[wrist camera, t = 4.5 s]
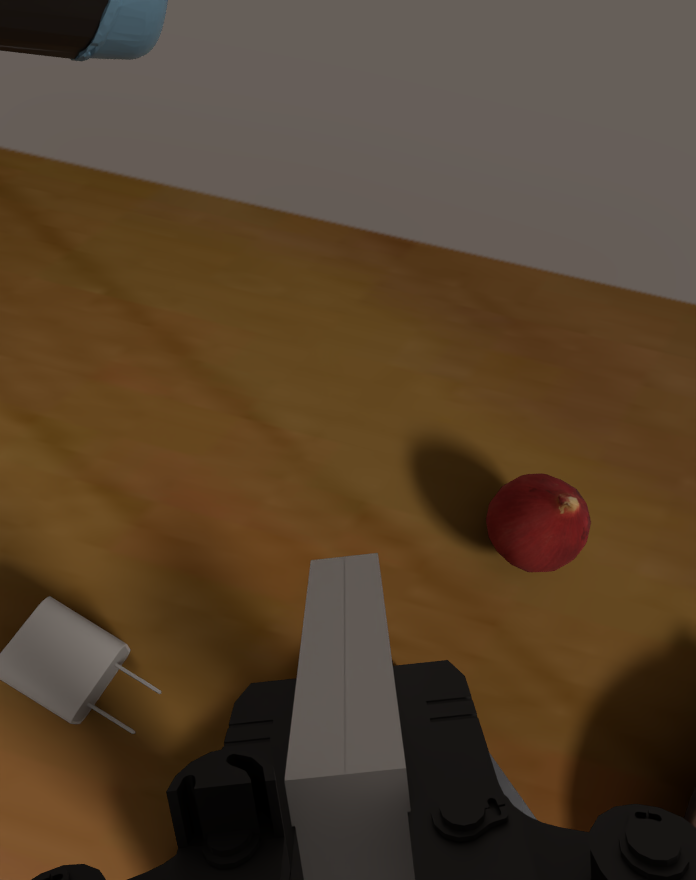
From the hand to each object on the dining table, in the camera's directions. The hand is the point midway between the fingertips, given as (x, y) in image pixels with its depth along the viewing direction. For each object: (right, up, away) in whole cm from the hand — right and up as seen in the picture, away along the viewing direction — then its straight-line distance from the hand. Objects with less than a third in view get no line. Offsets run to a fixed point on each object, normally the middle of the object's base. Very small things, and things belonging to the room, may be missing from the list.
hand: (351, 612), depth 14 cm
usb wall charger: (-13, -8, +18) cm, 24 cm away
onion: (+10, -3, +27) cm, 29 cm away
